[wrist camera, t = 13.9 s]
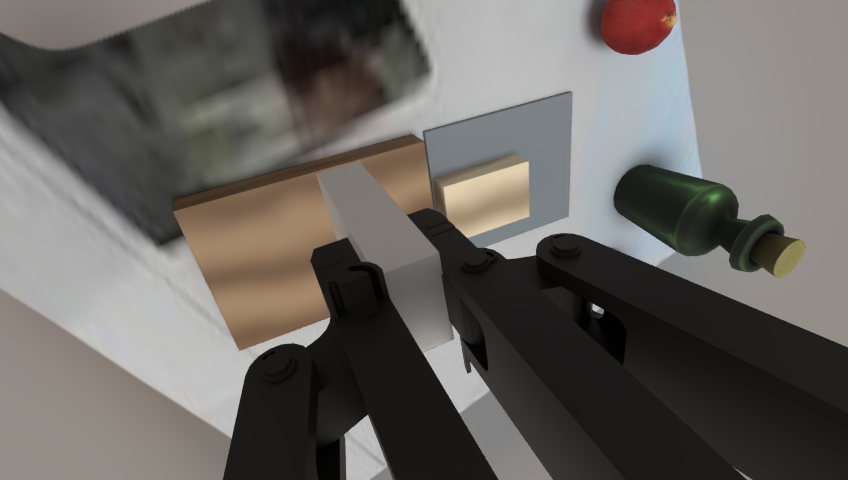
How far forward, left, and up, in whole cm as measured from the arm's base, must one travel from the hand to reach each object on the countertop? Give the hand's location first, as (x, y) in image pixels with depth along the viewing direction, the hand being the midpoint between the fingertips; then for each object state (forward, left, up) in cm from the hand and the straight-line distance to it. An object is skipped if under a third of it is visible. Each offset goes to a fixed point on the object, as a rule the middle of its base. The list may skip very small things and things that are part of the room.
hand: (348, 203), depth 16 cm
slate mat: (+13, +20, -23) cm, 33 cm away
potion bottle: (+20, +38, -23) cm, 49 cm away
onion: (0, +32, -23) cm, 39 cm away
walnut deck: (+13, +1, -23) cm, 27 cm away
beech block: (+14, +16, -23) cm, 31 cm away
